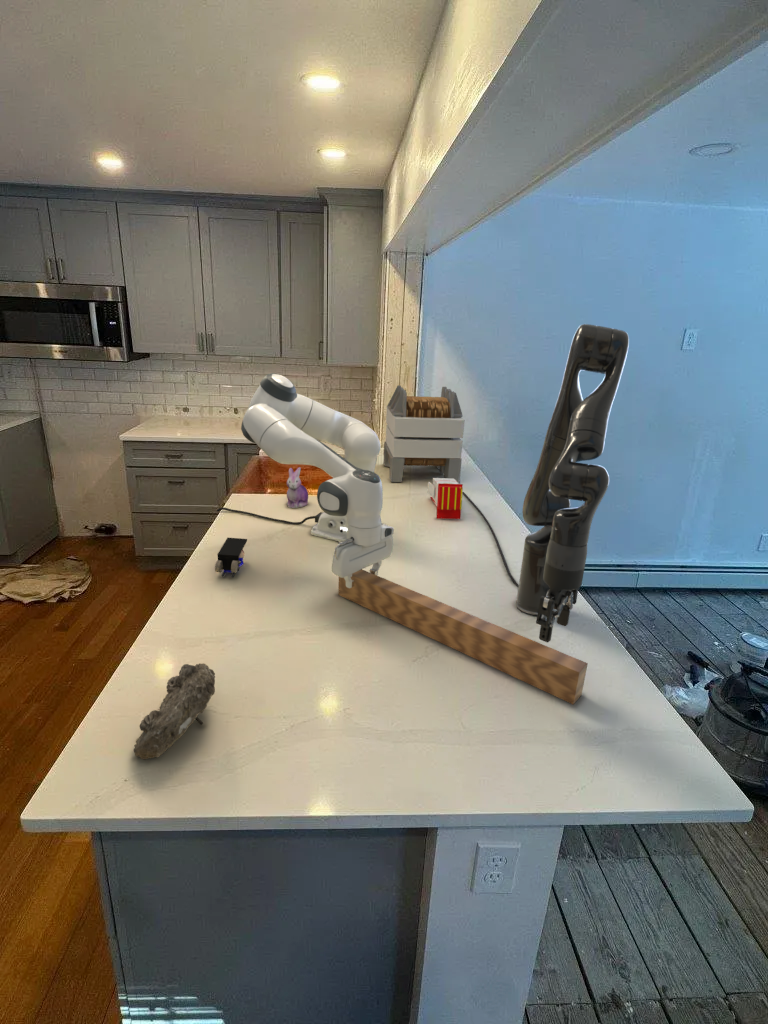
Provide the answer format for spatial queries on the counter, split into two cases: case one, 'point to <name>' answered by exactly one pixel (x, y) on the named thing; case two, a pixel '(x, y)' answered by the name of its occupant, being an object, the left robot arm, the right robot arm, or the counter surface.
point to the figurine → (296, 490)
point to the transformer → (423, 433)
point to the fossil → (176, 710)
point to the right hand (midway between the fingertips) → (553, 632)
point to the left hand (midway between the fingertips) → (362, 581)
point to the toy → (446, 497)
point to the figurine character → (230, 556)
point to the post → (470, 635)
